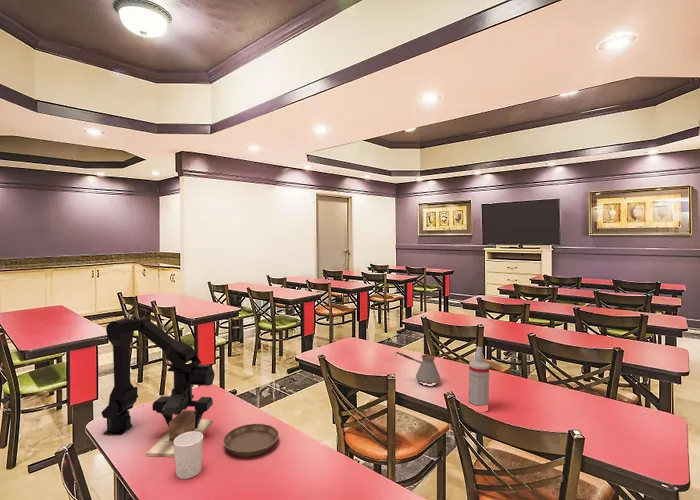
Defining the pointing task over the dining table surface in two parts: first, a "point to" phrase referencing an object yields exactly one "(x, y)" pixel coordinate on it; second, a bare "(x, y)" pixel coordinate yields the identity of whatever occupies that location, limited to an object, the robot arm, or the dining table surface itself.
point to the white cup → (188, 454)
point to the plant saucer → (250, 439)
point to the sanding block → (182, 424)
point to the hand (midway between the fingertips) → (183, 428)
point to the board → (167, 447)
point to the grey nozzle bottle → (479, 380)
